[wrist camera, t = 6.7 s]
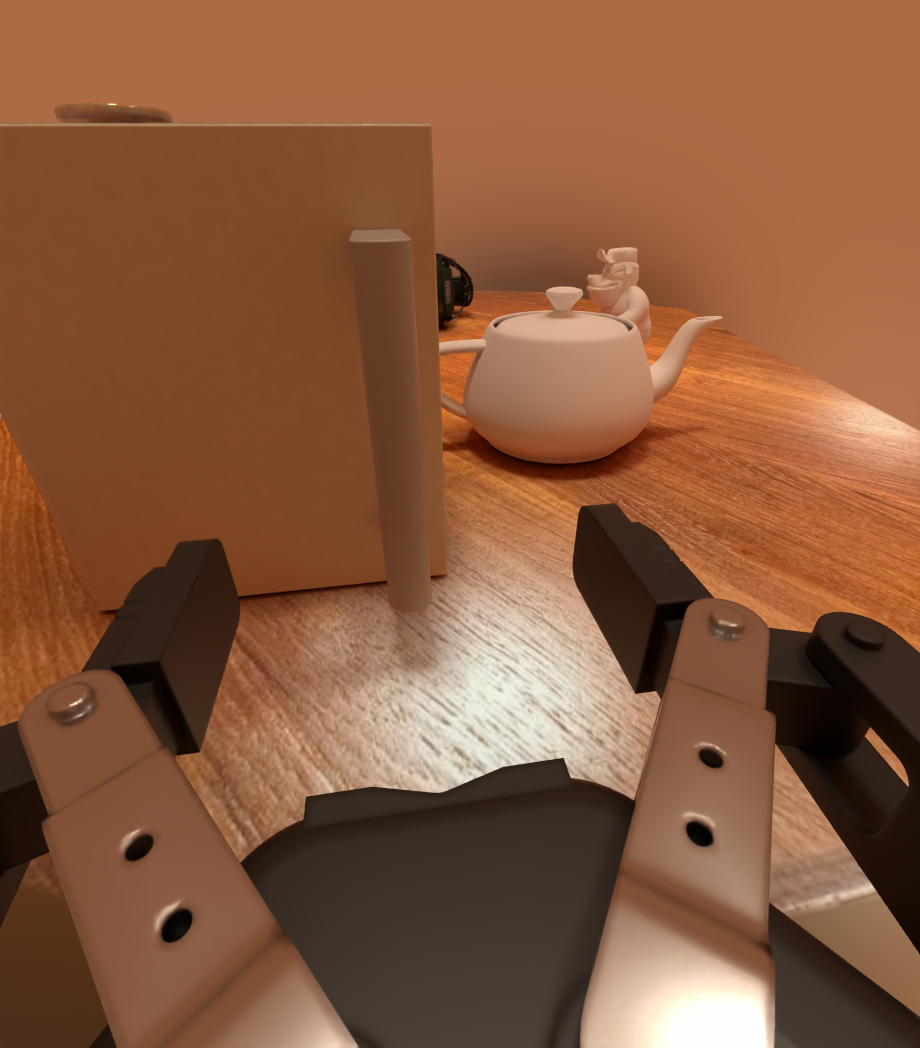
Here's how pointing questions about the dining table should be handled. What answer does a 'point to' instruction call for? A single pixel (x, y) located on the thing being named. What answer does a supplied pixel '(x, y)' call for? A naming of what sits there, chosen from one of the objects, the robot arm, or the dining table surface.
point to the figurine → (621, 289)
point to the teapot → (565, 380)
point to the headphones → (451, 289)
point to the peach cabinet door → (227, 348)
